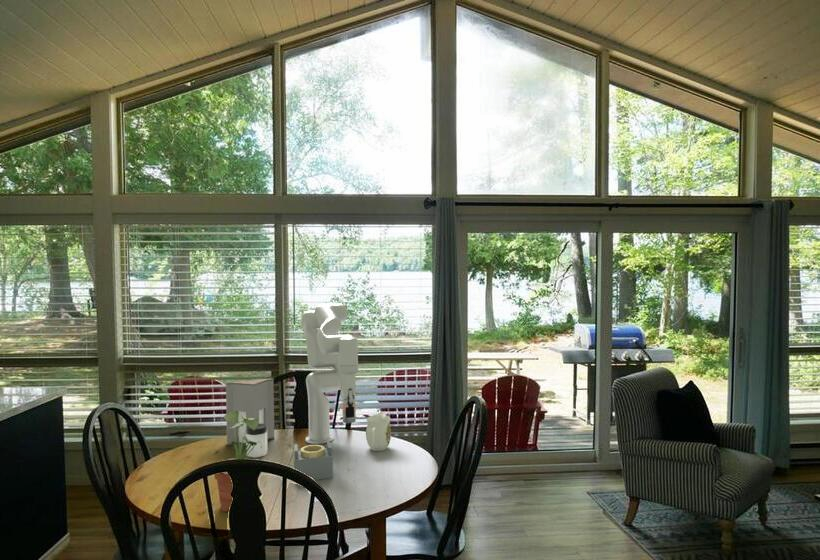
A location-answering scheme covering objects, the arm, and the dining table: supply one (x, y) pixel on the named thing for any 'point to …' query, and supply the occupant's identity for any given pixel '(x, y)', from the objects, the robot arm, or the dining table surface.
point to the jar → (256, 436)
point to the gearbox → (314, 461)
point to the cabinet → (250, 406)
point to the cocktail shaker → (345, 420)
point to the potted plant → (224, 478)
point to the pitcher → (378, 432)
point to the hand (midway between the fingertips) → (349, 414)
